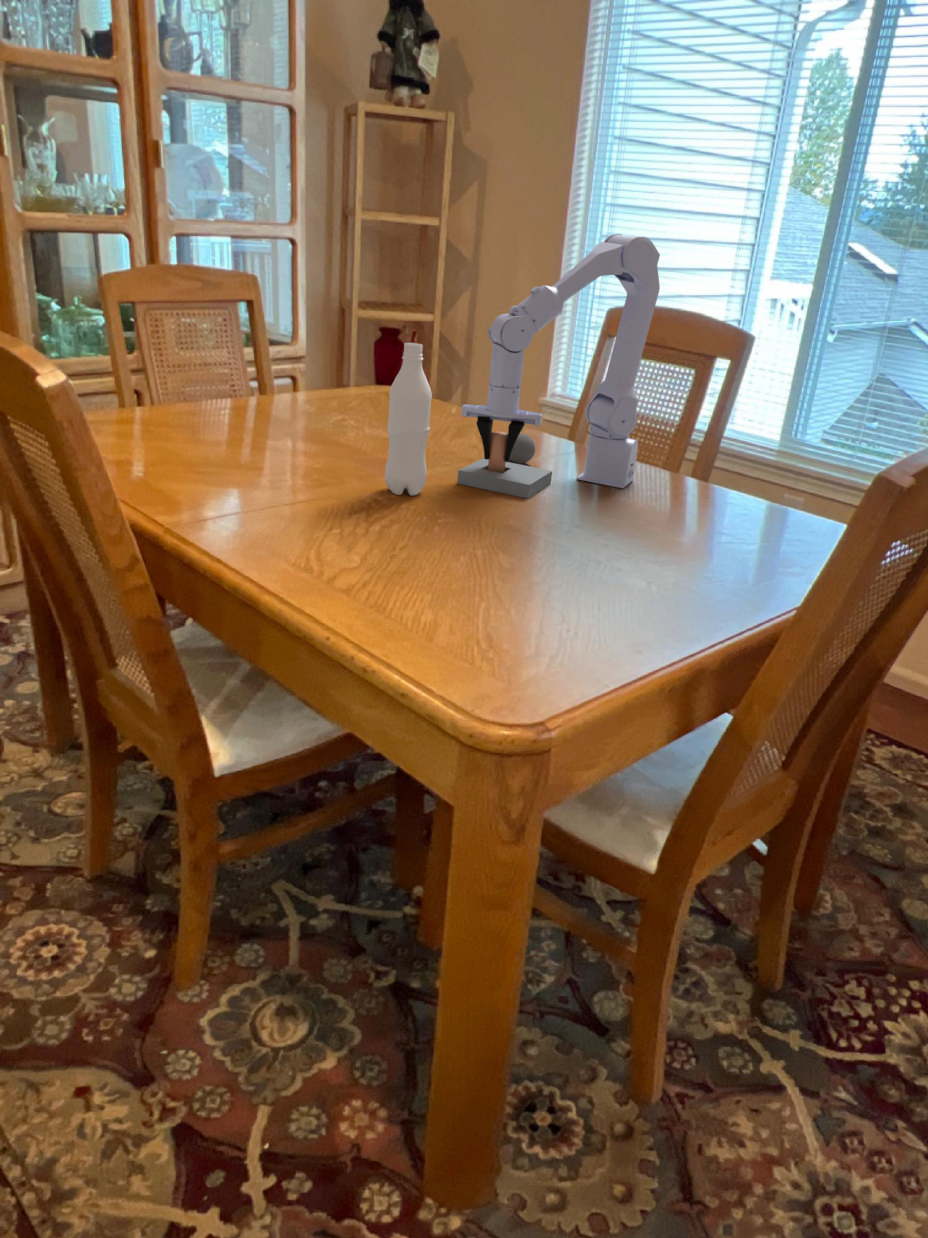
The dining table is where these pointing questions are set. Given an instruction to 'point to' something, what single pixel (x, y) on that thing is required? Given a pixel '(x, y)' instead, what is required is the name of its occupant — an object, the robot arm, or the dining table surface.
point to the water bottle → (408, 424)
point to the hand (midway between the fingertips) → (497, 459)
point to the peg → (497, 451)
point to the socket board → (505, 478)
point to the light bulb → (523, 449)
